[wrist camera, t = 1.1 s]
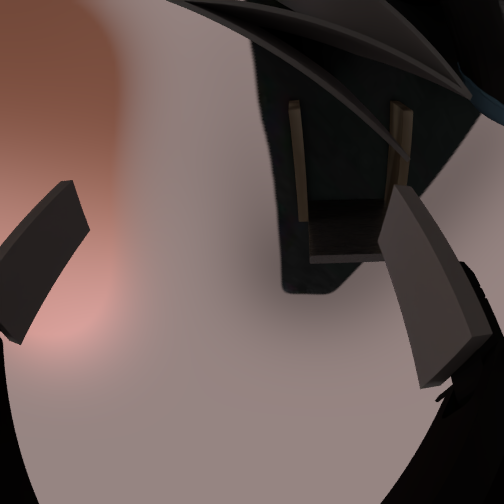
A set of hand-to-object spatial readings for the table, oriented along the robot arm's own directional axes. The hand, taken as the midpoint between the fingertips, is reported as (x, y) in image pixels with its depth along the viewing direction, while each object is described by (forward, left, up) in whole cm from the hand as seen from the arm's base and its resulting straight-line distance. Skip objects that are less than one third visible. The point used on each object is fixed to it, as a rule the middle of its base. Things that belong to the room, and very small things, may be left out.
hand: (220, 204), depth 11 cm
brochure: (-5, -6, -35) cm, 36 cm away
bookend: (-10, +23, -34) cm, 42 cm away
